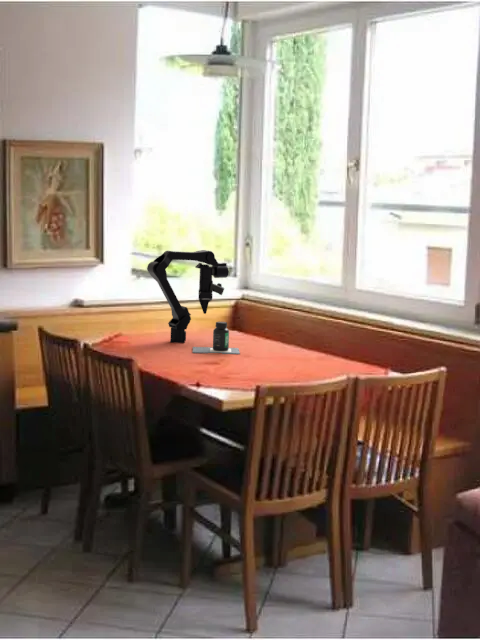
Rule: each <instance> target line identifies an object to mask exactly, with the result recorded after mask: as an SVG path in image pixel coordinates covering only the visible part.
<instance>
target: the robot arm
mask: <svg viewBox="0 0 480 640" xmlns="http://www.w3.org/2000/svg"><path fill="white" fill-rule="evenodd" d="M173 261H195V262H198V264H196V265H195V268H196V269H199V279H198V280H199V285H198V287H199V288H198V301H199V304H200V307H201V309H202V313H203V314H205V315H206V314H207V311H208V307H209V303H210V302H211V301H212V300H213V293H216V294H218V295H219V296H222V295H223V293H224V291H225V288H224V287H223V285H222V283H219V282H218V283H217V284H216V283H214V282H213V278H215V279H223V278H228V277H229V275H230V274H229V267H228V266H227V263H226V262H218V261H217V258H216V257H215V253H214V252H213V251H211V250H206V249H202V250H195V251H173V250H165V251H164V252H163V253H162V254H161V255H160V256H158V257H156V258H155V259H154V260H153V261H151V262H149V263H148V264H147V267H146V269H147V272H148V274H149V275H150V276H151V278H153V280H155V281H156V282H157V285H158V286H159V288H160V290H161V292H162V293H163V295H164V298H165V299H166V301H167V303H168V305H169V307H170V309H171V316H172V318H171V319H170V320H169V321H168V323H167V324H168V327H169V328H170V339H169V342H170V343H173V344H175V343H179V344H184V343H185V342H186V341H187V331H186V330H187V329H188V326H189V324H190V322H191V320H192V317H191V315H192V314H191V313H190V311H189V309H188V307H187V306H184V305H181V302H180V301H179V298H178V297H177V296H176V295H177V294H175V291H174V289H173V288H172V286H171V284H170V282H169V280H168V274H167V268H168V267H169V265H170V264H171V262H173ZM203 263H204V264H203Z"/></svg>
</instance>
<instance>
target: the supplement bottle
mask: <svg viewBox="0 0 480 640" xmlns="http://www.w3.org/2000/svg"><path fill="white" fill-rule="evenodd" d="M227 327H228V322H226V321H216V322H215V328H214V329H213V331H212V333H213V334H212V347H213V350H215V351H228V349H229V348H230V346H229V345H230V330H229V328H227Z"/></svg>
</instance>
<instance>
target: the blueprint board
mask: <svg viewBox="0 0 480 640" xmlns="http://www.w3.org/2000/svg"><path fill="white" fill-rule="evenodd" d="M208 353H222V354H221V355H240V354H241V352H240V348H239V347H229V349H228V351H215V350H213V346H210V347H209V346H192V354H208Z"/></svg>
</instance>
